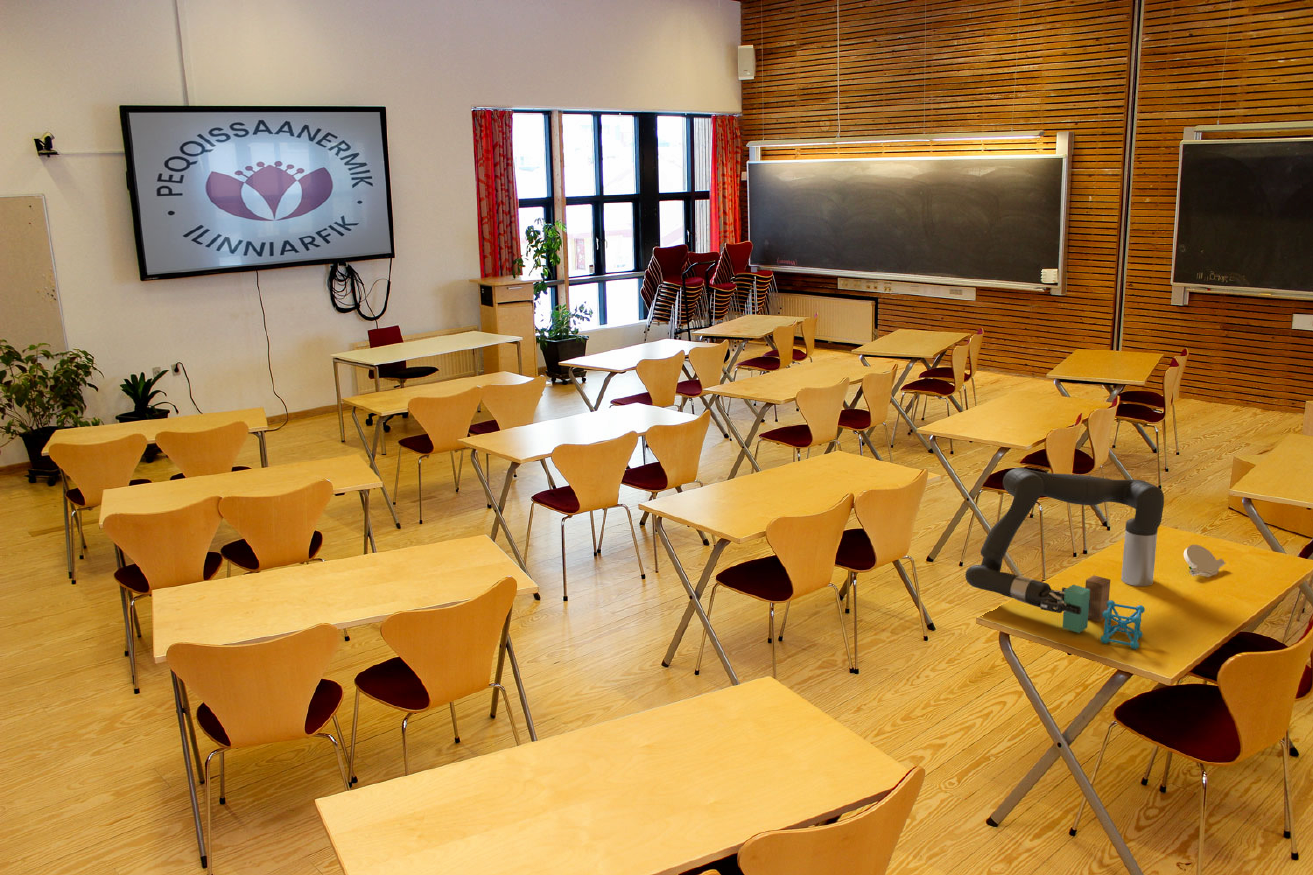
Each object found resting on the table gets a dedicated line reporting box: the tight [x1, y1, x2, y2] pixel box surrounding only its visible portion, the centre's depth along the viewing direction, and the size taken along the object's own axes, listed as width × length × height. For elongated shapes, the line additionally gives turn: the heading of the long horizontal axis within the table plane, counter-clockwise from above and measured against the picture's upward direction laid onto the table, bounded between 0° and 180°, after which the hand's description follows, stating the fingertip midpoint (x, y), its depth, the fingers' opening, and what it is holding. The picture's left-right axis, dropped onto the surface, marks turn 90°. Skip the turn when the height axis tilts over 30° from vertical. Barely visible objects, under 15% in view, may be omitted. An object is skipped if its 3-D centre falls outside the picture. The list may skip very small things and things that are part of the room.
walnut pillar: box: [1084, 574, 1111, 623], centre depth 299 cm, size 5×5×12 cm
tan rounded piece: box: [1183, 544, 1226, 578], centre depth 328 cm, size 15×8×11 cm, turn 118°
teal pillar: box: [1062, 584, 1090, 634], centre depth 291 cm, size 5×5×12 cm
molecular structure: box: [1100, 599, 1146, 650], centre depth 284 cm, size 10×10×10 cm
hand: (1085, 607), depth 288 cm, fingers closed on teal pillar, 5 cm apart
